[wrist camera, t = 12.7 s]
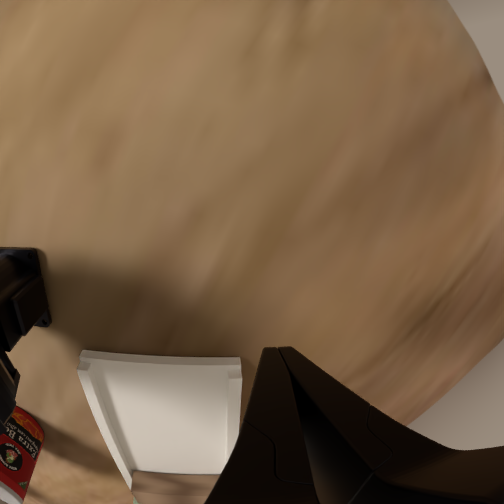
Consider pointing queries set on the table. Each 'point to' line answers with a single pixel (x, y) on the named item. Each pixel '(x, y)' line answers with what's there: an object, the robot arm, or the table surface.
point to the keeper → (171, 488)
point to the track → (164, 410)
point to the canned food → (18, 455)
